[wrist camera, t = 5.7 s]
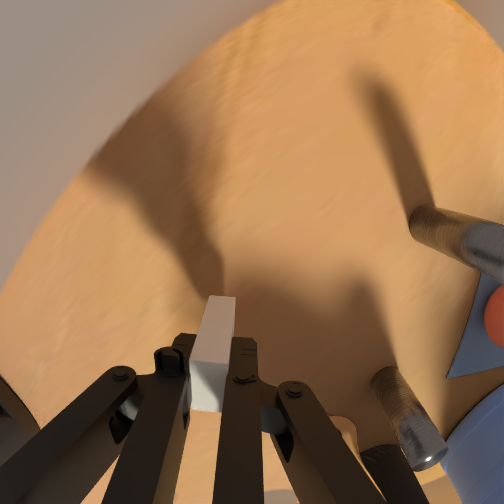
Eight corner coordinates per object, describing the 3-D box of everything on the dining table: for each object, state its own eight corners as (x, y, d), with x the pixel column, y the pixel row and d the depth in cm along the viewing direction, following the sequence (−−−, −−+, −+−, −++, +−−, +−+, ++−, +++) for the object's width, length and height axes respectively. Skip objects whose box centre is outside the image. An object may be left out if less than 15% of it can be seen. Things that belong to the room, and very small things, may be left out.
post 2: (406, 241, 18) (495, 288, 10) (412, 202, 18) (508, 228, 9) (435, 244, 18) (524, 287, 10) (441, 207, 18) (536, 234, 9)
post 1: (367, 392, 21) (405, 475, 13) (375, 367, 21) (422, 450, 12) (394, 390, 21) (437, 466, 13) (403, 365, 21) (455, 441, 12)
